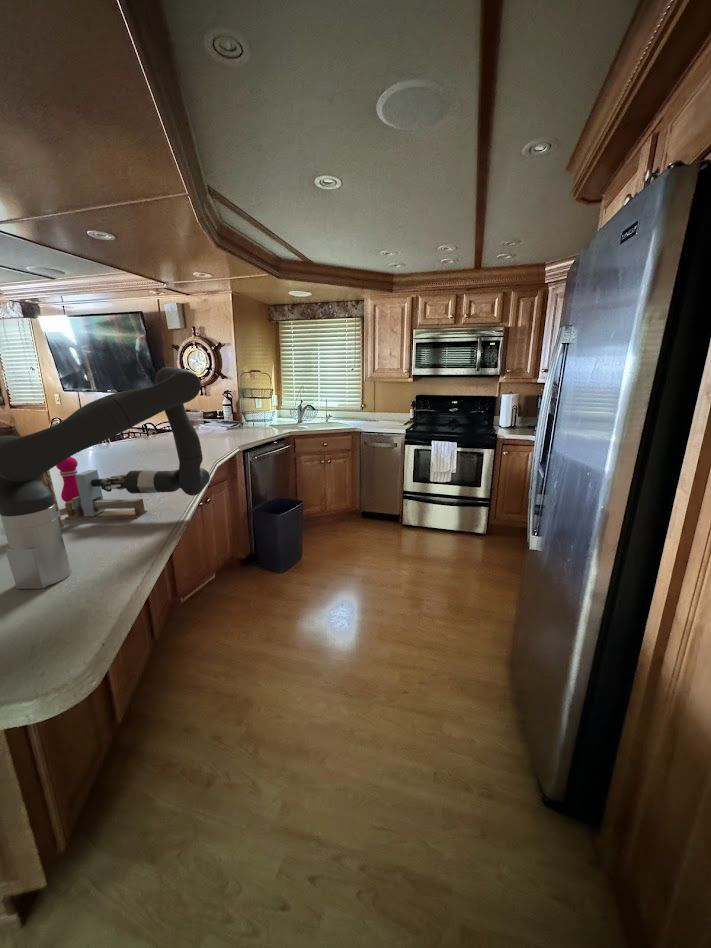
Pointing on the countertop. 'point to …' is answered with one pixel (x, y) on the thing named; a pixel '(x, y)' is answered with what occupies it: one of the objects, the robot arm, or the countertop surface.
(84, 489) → the light blue block
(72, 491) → the pepper mill
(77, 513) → the rail
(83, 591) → the countertop surface
